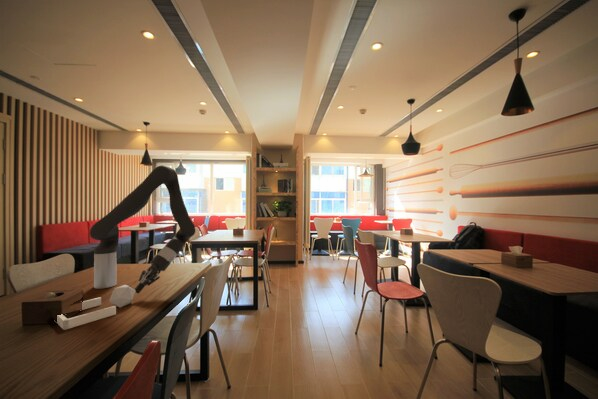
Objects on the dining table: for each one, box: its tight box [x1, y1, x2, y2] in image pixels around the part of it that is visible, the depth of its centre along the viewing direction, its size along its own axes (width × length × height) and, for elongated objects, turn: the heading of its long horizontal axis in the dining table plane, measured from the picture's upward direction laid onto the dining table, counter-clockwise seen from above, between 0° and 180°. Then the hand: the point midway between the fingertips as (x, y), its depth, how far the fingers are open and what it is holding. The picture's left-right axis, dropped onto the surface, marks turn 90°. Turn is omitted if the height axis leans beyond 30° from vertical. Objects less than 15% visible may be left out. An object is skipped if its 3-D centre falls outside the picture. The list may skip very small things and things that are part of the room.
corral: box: [55, 296, 117, 331], centre depth 97 cm, size 17×15×3 cm
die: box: [108, 284, 136, 309], centre depth 107 cm, size 8×9×10 cm
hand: (135, 292), depth 111 cm, fingers closed
